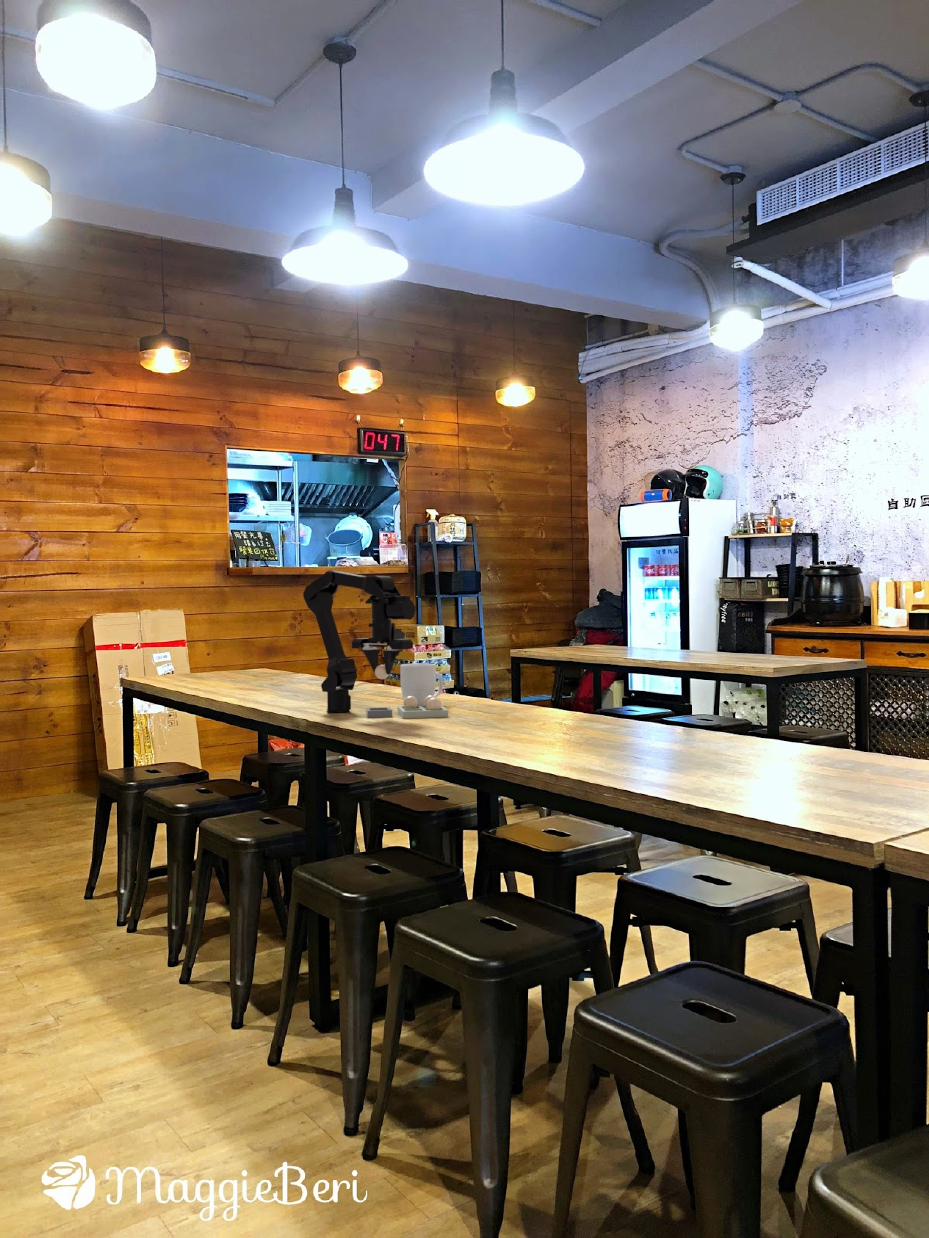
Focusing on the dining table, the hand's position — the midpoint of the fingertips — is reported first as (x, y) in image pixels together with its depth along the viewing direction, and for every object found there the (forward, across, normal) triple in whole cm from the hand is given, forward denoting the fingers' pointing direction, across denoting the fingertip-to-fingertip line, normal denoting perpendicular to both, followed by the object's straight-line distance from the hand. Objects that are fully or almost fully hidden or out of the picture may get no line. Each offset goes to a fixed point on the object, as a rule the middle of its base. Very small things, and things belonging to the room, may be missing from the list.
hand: (382, 673), depth 273 cm
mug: (+12, +4, -24) cm, 27 cm away
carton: (+12, -8, -8) cm, 17 cm away
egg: (-1, 0, 0) cm, 1 cm away
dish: (+12, +1, 0) cm, 12 cm away
